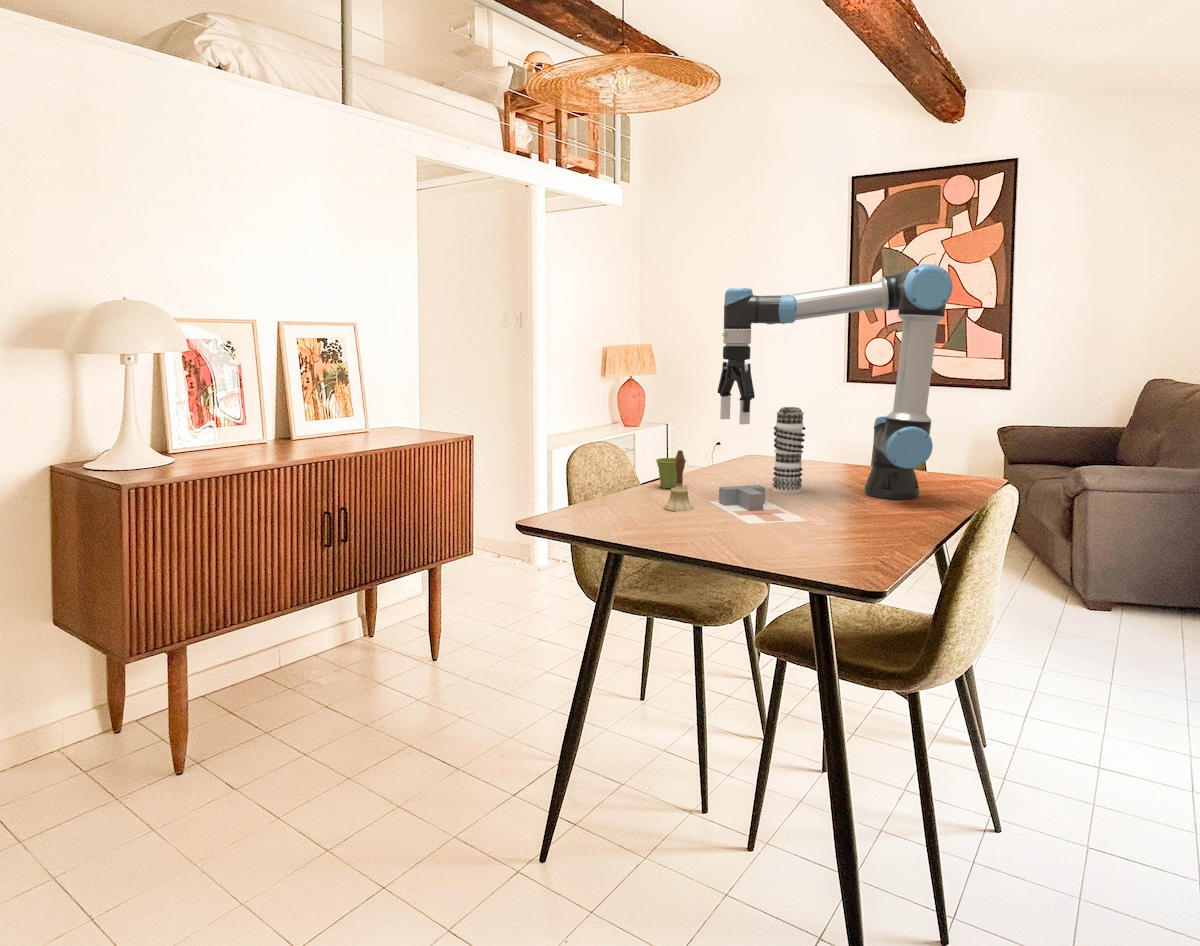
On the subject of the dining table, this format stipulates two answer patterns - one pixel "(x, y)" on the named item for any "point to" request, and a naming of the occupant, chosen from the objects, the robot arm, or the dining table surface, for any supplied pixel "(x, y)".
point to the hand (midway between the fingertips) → (734, 421)
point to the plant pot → (667, 472)
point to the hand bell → (679, 489)
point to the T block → (743, 496)
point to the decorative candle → (788, 450)
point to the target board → (760, 513)
